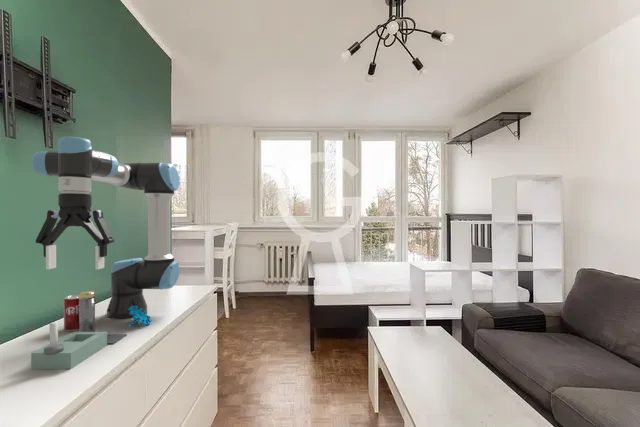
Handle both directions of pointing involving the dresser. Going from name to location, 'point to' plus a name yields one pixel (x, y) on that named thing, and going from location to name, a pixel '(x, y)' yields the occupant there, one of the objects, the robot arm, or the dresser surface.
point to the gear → (139, 316)
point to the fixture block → (67, 349)
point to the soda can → (71, 313)
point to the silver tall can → (87, 311)
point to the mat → (114, 338)
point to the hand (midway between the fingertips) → (75, 268)
